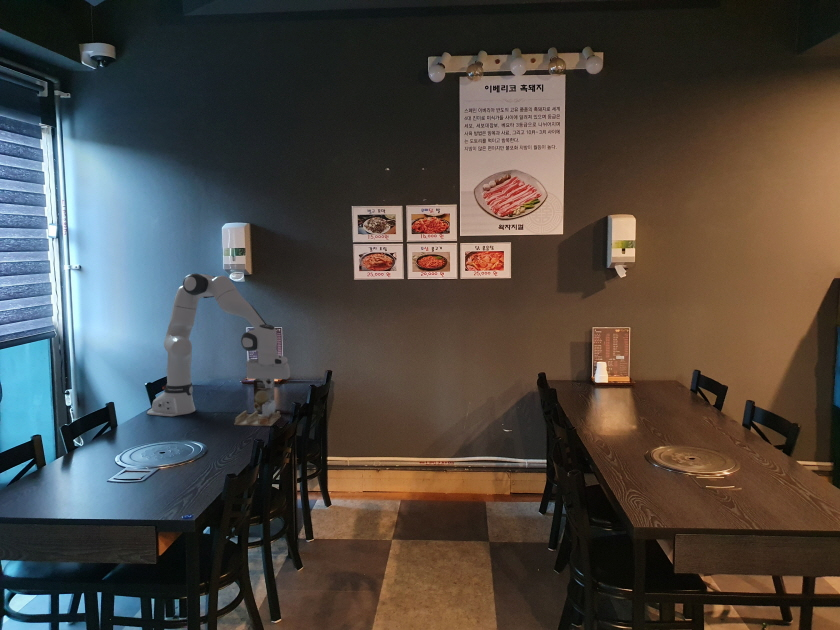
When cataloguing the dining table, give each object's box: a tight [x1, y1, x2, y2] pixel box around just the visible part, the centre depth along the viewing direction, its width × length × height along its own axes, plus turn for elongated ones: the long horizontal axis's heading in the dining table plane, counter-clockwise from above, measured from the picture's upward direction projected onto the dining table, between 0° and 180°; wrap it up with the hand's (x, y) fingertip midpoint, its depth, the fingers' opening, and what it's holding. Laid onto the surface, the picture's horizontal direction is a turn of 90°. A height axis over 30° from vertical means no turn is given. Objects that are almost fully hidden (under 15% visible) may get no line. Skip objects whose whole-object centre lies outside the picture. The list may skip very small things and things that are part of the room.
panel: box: [261, 399, 276, 420], centre depth 282 cm, size 3×10×8 cm, turn 177°
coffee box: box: [253, 379, 276, 413], centre depth 300 cm, size 9×6×16 cm
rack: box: [233, 410, 282, 427], centre depth 282 cm, size 17×15×3 cm
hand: (268, 387), depth 281 cm, fingers closed
